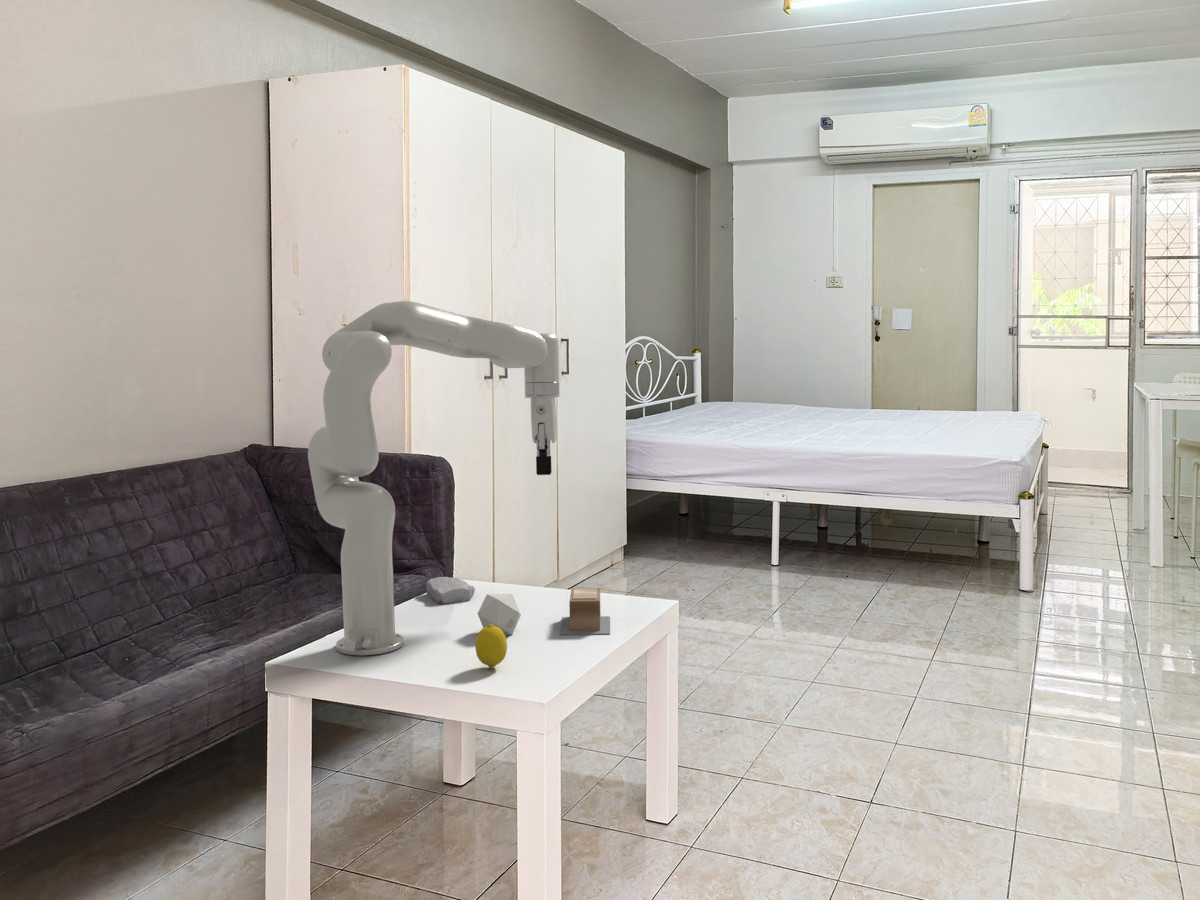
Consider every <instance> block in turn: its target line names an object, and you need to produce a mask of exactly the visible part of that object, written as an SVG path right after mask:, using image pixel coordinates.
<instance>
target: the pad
mask: <svg viewBox="0 0 1200 900" xmlns="http://www.w3.org/2000/svg"><path fill="white" fill-rule="evenodd" d="M560 623H561V624H560V629H559V636H581V635H582V636H583V635H587V636H588V635H592V636H593V635H594V636H595V635H599V636H600V635H611V616H608V615H607V616H606V615H605V616H600V631H570V616H562V618H561V622H560Z"/></svg>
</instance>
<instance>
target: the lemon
mask: <svg viewBox="0 0 1200 900" xmlns="http://www.w3.org/2000/svg"><path fill="white" fill-rule="evenodd" d="M507 650H508V642H507V637H506V635H504V633H503V631H502V630H501V629H500V628H498V627H496V626H494V625H493V624H489V625H488V626H487V627H484V628H481V630H479V632H478V634H477V636H476V638H475V654H476V656H477V658H478V660H479V662H481V663H482V664H483V665H485V666H487V667H489V669H494V668H495V667H496V666H497V665H499V664H500V663H502V662H503V661H504V660H505V658H506V655H507Z"/></svg>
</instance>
